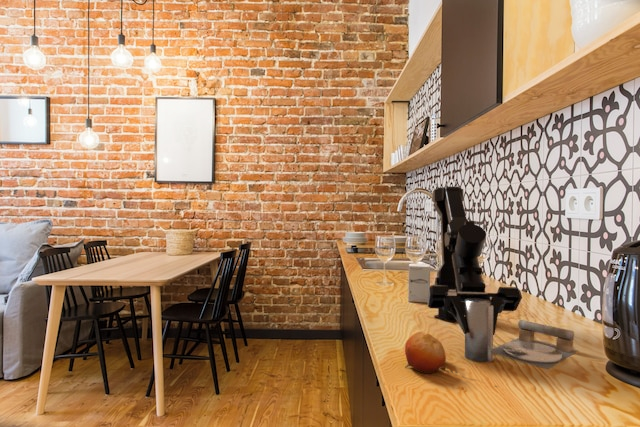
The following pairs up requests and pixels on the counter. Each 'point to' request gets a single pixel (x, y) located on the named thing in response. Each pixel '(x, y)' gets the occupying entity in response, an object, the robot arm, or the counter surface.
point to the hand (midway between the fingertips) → (479, 333)
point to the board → (564, 355)
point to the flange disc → (532, 352)
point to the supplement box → (418, 282)
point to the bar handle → (562, 342)
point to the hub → (479, 330)
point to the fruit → (424, 353)
